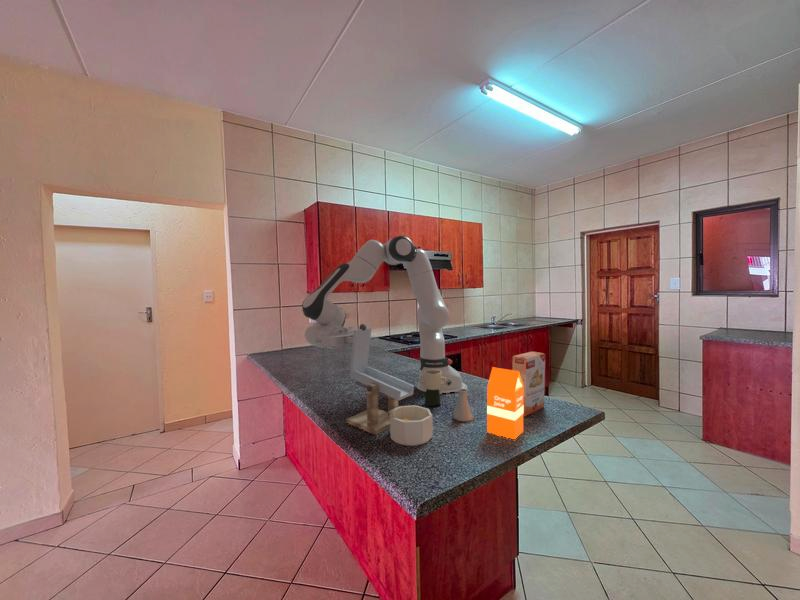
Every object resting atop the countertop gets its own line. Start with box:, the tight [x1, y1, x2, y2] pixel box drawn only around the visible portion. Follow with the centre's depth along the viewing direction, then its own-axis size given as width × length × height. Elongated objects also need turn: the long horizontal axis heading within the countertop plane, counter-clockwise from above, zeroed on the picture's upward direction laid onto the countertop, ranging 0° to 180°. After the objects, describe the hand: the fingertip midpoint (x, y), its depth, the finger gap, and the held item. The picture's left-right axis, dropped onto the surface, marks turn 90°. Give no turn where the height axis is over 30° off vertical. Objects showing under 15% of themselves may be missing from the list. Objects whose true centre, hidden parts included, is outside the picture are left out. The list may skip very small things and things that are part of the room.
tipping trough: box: [349, 323, 415, 402], centre depth 104 cm, size 23×7×21 cm, turn 50°
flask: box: [452, 388, 475, 422], centre depth 110 cm, size 7×7×10 cm
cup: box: [389, 404, 434, 447], centre depth 97 cm, size 13×13×7 cm
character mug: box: [418, 369, 446, 407], centre depth 123 cm, size 11×7×13 cm, turn 70°
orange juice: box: [486, 366, 524, 440], centre depth 99 cm, size 8×9×20 cm
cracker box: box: [511, 351, 546, 417], centre depth 116 cm, size 14×6×21 cm, turn 129°
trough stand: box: [345, 376, 399, 436], centre depth 107 cm, size 14×14×15 cm
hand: (360, 340), depth 111 cm, fingers closed, pressing on tipping trough
